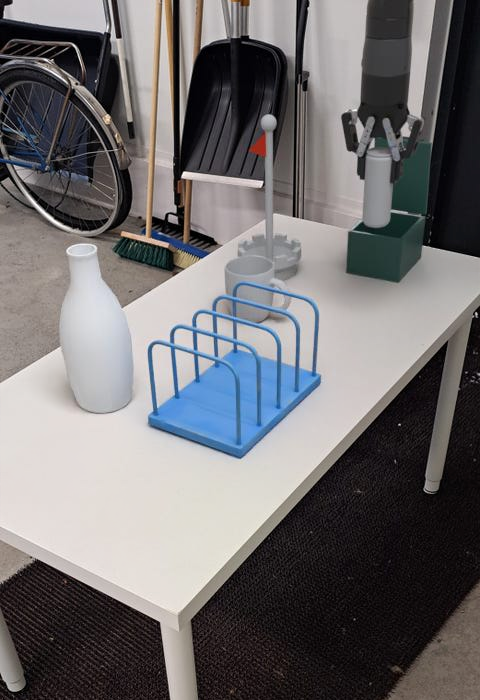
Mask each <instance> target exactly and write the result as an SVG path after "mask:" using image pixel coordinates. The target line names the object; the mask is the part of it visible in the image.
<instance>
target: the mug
mask: <svg viewBox="0 0 480 700" xmlns="http://www.w3.org/2000/svg"><path fill="white" fill-rule="evenodd" d="M241 281H248V282H252V283H256V284H260V285H264V286H268V287H272V288H277V289H280V290H284V291H288V292H291V290H290V288H289V287H288V285H287V284H286V283H285V282H284V280H282V281H281V280H279V279H275V274H274V264H273V262H272V261H271V260H269V259H267V258H264V257H260V256H241V257H238V256H236V257H234V258H232V259H230V260H228V262H226V263H225V265H224V287H225V295H228V296H233V289H234V287H235V285H236V284H238V283H239V282H241ZM274 294H275V292H271V291H267V290H263V289H259V288H255V287H251V286H247V285H241V286H239V287H238V288H237V292H236V298H240V299H244V300H248V301H251V302H255V303H259V304H263V305H266V306H270V307H274V308H277V309H281V310H284V311H287V309H288V308H289V307H290V306H291V301H292V297H290V296H286V295H283V297H284V302H283V304H281V305H280V306H273V301H274ZM226 301H227V305H228V308H229V312H230V314H231V316H233V301H231V300H226ZM270 314H274V315H275V314H276V315H277V314H279V313H276V312H272V311H268V310H265V309H261V308H257V307H254V306H250V305H246V304H242V303H238V302H236V317H237V318H240V319H243V320H247V321H250V322H254V323H257V324H259V323H260V322H263V321H264V320H266V318H268V317H269V315H270Z"/></svg>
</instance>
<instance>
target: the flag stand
mask: <svg viewBox="0 0 480 700" xmlns="http://www.w3.org/2000/svg"><path fill="white" fill-rule="evenodd" d="M260 127H261V129H262V130H263V134H262V136H260V137H259V139H257V141H256V142H255V143H254V144H253V145H252V146H251V147H250V148H249V149H248V151H249V152H251V153H253V154H255V155H259V156H261V157H264V199H265V200H264V201H265V202H264V206H265V208H264V209H265V213H264V215H265V218H264V219H265V233H263V232H262V233H257V234H252V235H251V240H250V241H248V239H246V238H242V239H241V240H240V241H238V242H237V252H236V253H237V257H241V256H260V257H264V258H267V259H269V260H271V261H272V262H273V264H274V274H275V279H279V280H281V281H285V280H288V279H291V278H292V277H293V276H295V274H296V273H297V264H298V263H299V262H300V261H301V259H302V242H301V240H299V239H298V238H297V237H294V238H291V240H289V239H288V234H285V233H278V232H275V233H274V130H275V129H276V128H277V119H276V117H275V116H274V115H272V114H271V113H269V114H265V115H264V116H263V117H262V118H261V119H260Z"/></svg>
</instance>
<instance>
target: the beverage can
mask: <svg viewBox="0 0 480 700" xmlns="http://www.w3.org/2000/svg"><path fill="white" fill-rule="evenodd" d="M393 160H394V159H393V156H392V151H391V148H388V147H374V146H373V147H369V149H368V150H367V154H366V162H365V180H363V183H364V184H363V199H362V200H363V201H362V202H363V203H362V217H361V219H362V221H363V222H364V224H365V225H366V226H368V227H372V228H380V227H384V226H386V225H387V224H388V223H389V222H390V216H391V211H392V210H391V203H392V191H393V184H391V183H390V179H391V166H392V161H393Z"/></svg>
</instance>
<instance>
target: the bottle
mask: <svg viewBox="0 0 480 700" xmlns="http://www.w3.org/2000/svg"><path fill="white" fill-rule="evenodd" d="M65 255H66V256H67V260H68V267H69V276H70V283H69V286H68V288H67V291H66V293H65V297H64V299H63V300H62V304H61V309H60V315H59V322H58V324H59V325H58V326H59V328H58V330H59V331H58V333H59V345H60V349H61V353H62V359H63V362H64V366H65V370H66V375H67V378H68V380H69V383H70V384H69V385H70V386H71V389H72V391H73V395H74V397H75V400H76V402H77V404H78V405H79V406H80V407H81V408H82V409H83V410H85V411H87V412H88V413H89V412H90V413H95V414H108V413H113V412H116V411H120V410H121V409H123V408H124V407H126V406H127V405H128V404H129V402H130V401H131V400H132V398H133V393H134V390H133V389H134V356H133V355H134V354H133V341H132V334H131V330H130V326H129V324H128V320H127V317H126V314H125V312H124V310H123V307H122V305H121V303H120V302H119V299H118V297H117V296H116V295H115V293H114V292H113V291H112V290H111V288H110V287H109V286H108V284H107V283H106V282H105V280H103V278H102V274H101V269H100V263H99V259H98V247H97V245H95V244H92V243H76V244H73V245H71V246H69V247H68V248H66V249H65Z"/></svg>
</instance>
